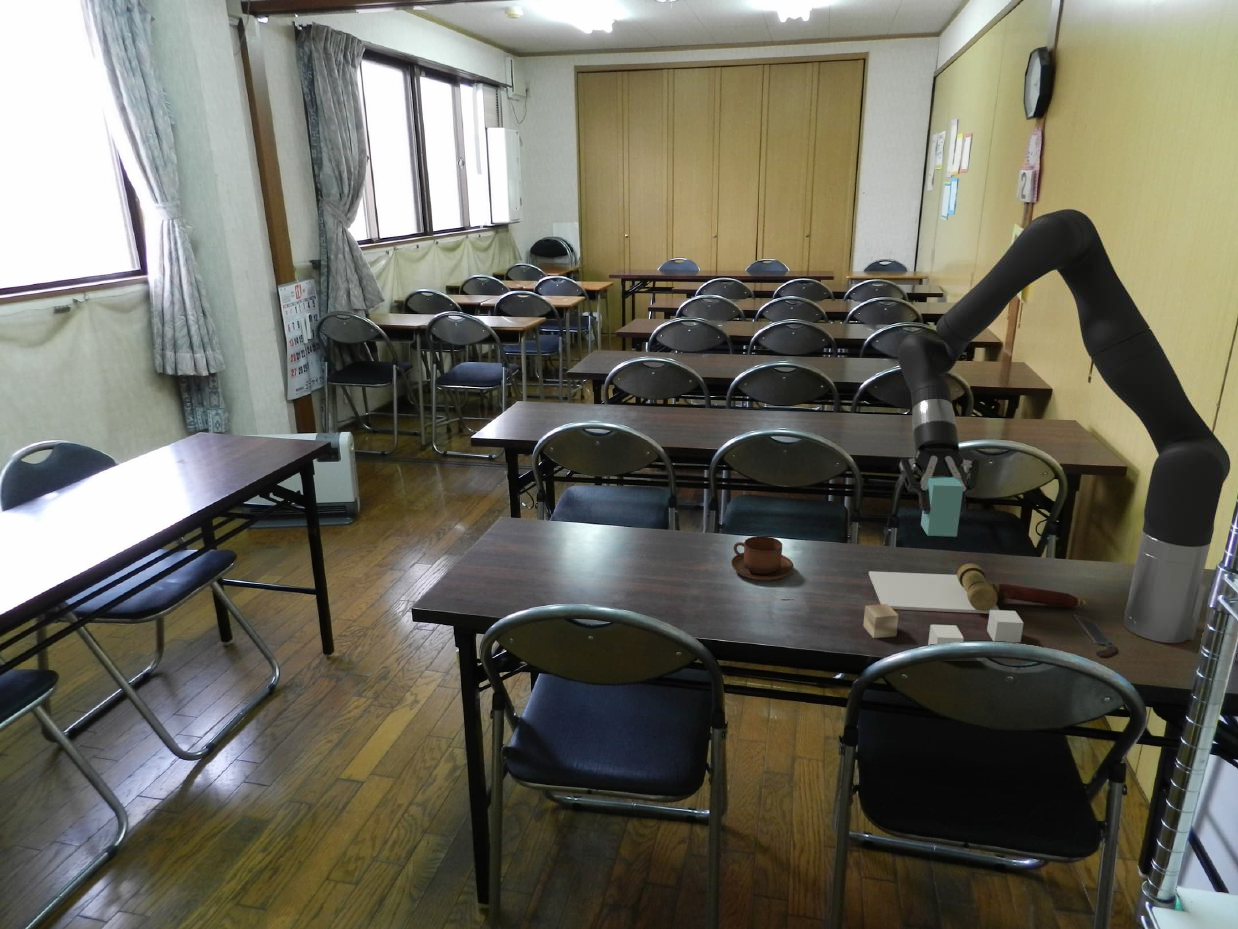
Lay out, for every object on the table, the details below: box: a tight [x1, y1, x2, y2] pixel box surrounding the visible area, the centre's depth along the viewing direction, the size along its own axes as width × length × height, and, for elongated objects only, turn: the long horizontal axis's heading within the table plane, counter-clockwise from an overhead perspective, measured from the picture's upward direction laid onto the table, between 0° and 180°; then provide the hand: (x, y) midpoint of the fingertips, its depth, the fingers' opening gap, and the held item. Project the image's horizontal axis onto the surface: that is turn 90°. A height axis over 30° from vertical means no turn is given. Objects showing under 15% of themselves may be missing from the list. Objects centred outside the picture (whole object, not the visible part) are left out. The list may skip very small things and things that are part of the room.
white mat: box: [868, 570, 1000, 615], centre depth 148 cm, size 20×14×1 cm
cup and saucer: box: [731, 535, 794, 581], centre depth 157 cm, size 12×12×6 cm
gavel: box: [956, 562, 1087, 611], centre depth 143 cm, size 21×5×10 cm
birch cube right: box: [863, 603, 899, 639], centre depth 135 cm, size 4×4×4 cm
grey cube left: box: [986, 609, 1024, 643], centre depth 133 cm, size 4×4×4 cm
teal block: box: [920, 476, 963, 537], centre depth 143 cm, size 5×5×10 cm
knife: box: [1072, 614, 1118, 659], centre depth 133 cm, size 14×4×1 cm, turn 171°
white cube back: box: [927, 624, 964, 646], centre depth 128 cm, size 4×4×4 cm
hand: (944, 512), depth 141 cm, fingers closed on teal block, 5 cm apart
